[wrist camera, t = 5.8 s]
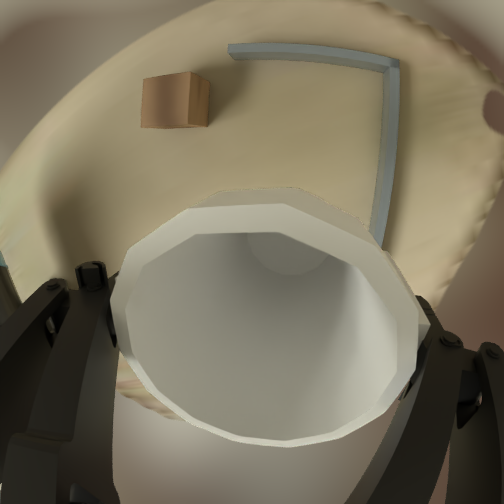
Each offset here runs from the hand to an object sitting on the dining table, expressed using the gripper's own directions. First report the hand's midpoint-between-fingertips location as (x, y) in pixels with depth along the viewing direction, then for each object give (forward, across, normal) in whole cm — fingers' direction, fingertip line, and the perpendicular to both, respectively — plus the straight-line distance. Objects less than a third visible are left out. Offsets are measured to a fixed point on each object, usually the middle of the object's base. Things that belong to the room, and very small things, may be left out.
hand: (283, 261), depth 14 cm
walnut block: (+20, -15, +11) cm, 27 cm away
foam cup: (+5, 0, 0) cm, 5 cm away
